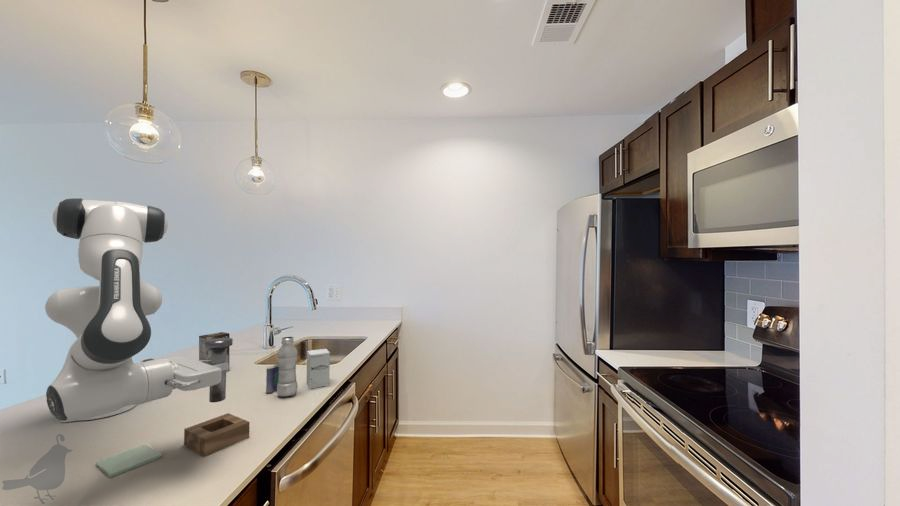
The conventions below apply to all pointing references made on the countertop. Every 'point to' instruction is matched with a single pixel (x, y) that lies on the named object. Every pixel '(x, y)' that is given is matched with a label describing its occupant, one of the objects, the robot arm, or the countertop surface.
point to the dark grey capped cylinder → (217, 356)
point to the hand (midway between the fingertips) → (222, 363)
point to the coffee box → (206, 352)
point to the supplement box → (318, 368)
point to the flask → (272, 378)
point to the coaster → (128, 460)
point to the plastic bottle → (287, 368)
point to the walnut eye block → (216, 434)
